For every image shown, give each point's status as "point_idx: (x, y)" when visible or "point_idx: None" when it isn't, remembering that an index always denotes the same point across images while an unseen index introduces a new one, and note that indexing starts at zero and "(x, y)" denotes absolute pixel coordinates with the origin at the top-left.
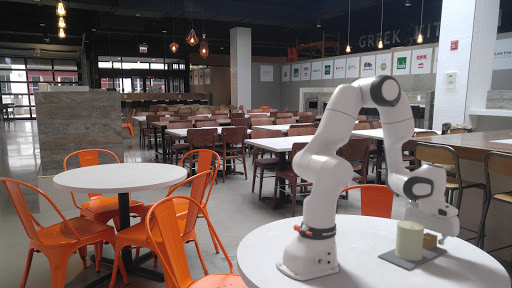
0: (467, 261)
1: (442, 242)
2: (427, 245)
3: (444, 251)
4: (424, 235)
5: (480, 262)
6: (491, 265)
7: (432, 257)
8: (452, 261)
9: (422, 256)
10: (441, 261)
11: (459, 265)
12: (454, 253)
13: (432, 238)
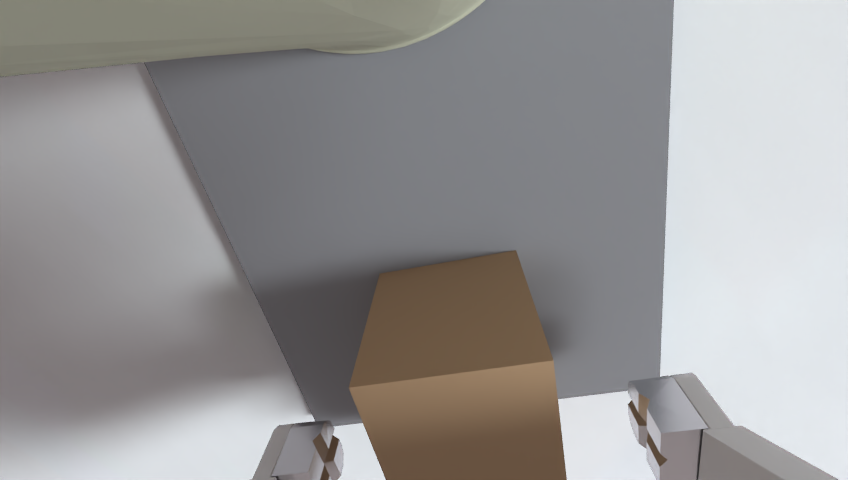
0: (109, 399)
1: (268, 463)
2: (390, 302)
3: (298, 385)
4: (507, 431)
5: (87, 458)
6: (35, 476)
7: (182, 141)
8: (116, 292)
9: None
10: (122, 187)
11: (23, 279)
12: None
13: (379, 447)
